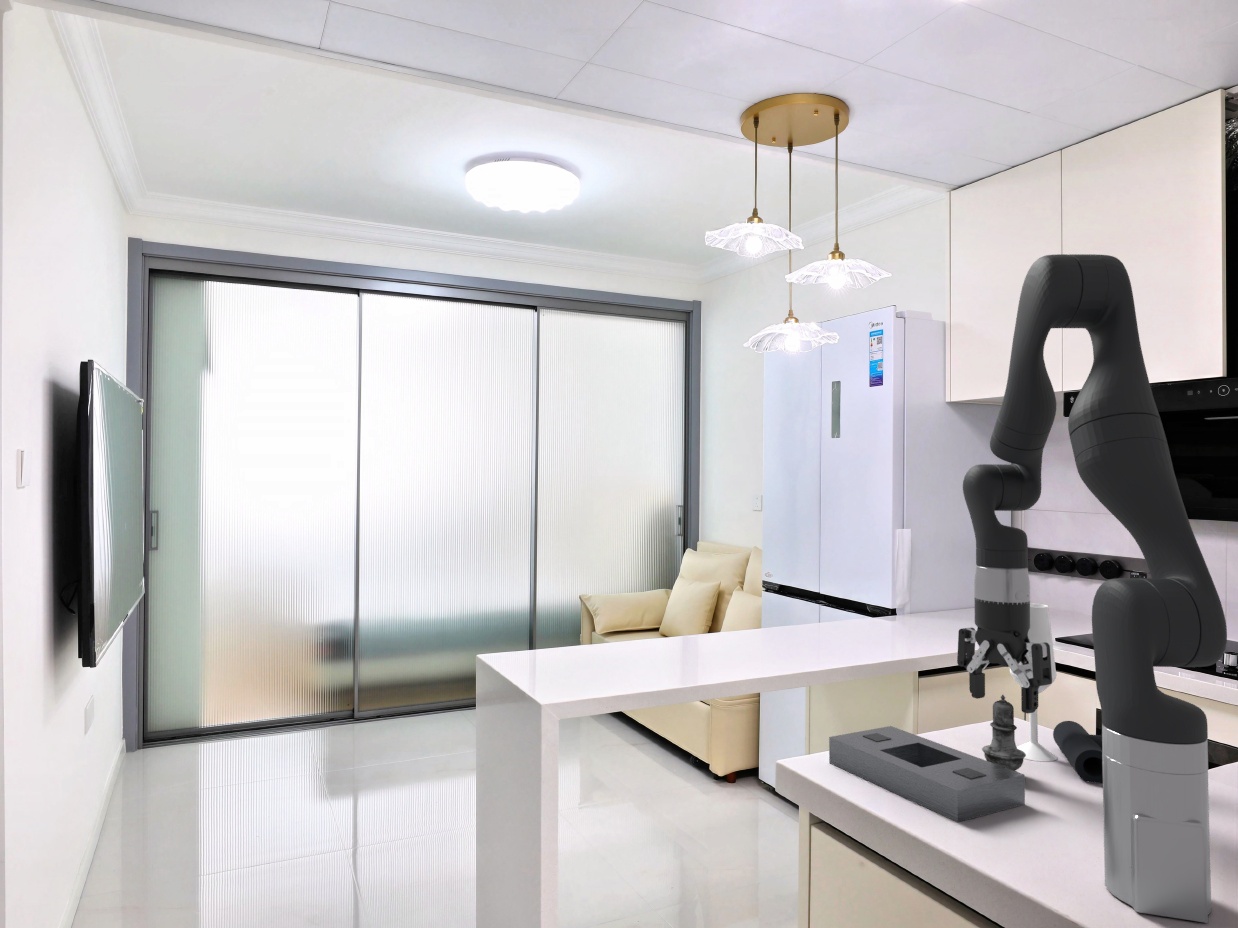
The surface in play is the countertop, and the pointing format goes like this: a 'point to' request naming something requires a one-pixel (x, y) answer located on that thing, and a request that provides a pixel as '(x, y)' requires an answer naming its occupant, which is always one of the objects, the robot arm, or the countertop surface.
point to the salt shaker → (1003, 738)
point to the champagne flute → (1040, 634)
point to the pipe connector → (1080, 750)
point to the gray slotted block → (928, 772)
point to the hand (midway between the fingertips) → (1002, 704)
